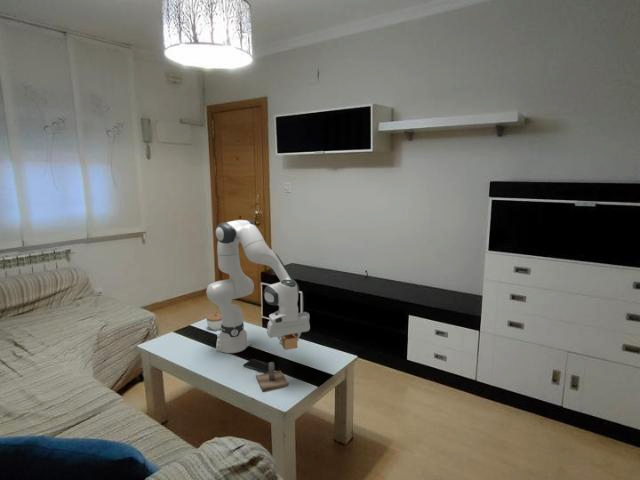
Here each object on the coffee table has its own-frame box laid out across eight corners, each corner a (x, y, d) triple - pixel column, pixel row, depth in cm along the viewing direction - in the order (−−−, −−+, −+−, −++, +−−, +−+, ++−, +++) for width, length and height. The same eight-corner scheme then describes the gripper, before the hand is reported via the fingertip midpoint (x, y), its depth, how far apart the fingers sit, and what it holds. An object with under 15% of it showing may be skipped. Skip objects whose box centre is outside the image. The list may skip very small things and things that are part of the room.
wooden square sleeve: (281, 344, 187) (280, 334, 186) (293, 342, 189) (292, 332, 188) (285, 350, 181) (285, 340, 180) (297, 347, 184) (297, 337, 183)
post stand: (256, 378, 185) (255, 359, 183) (280, 373, 190) (280, 355, 188) (262, 391, 174) (262, 372, 172) (288, 386, 179) (288, 366, 177)
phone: (266, 372, 189) (242, 365, 196) (266, 375, 189) (242, 367, 196) (276, 365, 195) (252, 358, 202) (276, 367, 196) (252, 360, 203)
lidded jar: (210, 333, 234) (209, 318, 232) (204, 327, 243) (203, 312, 241) (227, 329, 240) (227, 314, 238) (221, 323, 249) (220, 309, 247)
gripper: (306, 309, 189) (307, 335, 192) (265, 315, 181) (266, 343, 184) (312, 313, 183) (311, 341, 186) (269, 320, 175) (270, 349, 178)
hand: (289, 342), depth 185 cm, fingers closed on wooden square sleeve, 6 cm apart
